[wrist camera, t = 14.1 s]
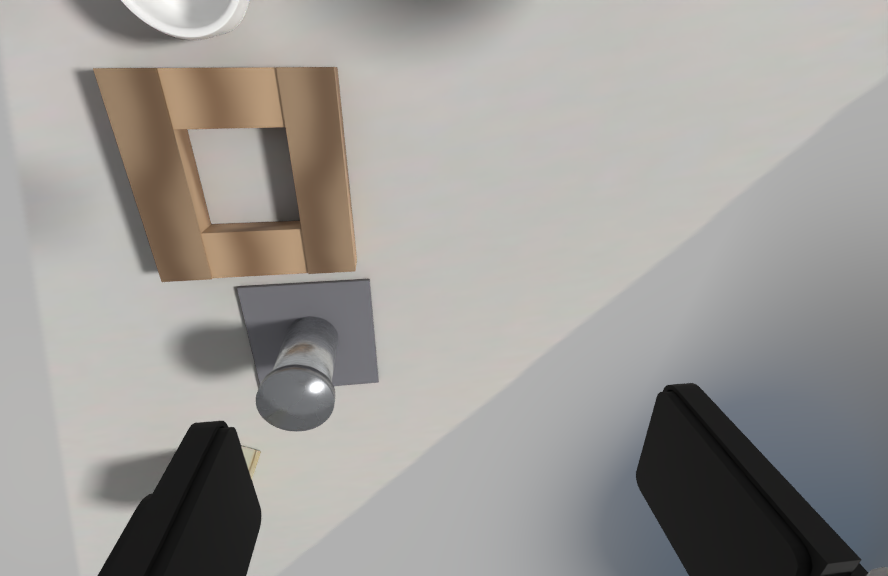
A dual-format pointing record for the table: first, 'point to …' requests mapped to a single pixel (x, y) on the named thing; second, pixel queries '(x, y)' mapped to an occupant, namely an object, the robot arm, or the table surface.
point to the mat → (329, 300)
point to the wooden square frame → (177, 180)
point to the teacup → (190, 16)
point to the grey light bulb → (301, 377)
